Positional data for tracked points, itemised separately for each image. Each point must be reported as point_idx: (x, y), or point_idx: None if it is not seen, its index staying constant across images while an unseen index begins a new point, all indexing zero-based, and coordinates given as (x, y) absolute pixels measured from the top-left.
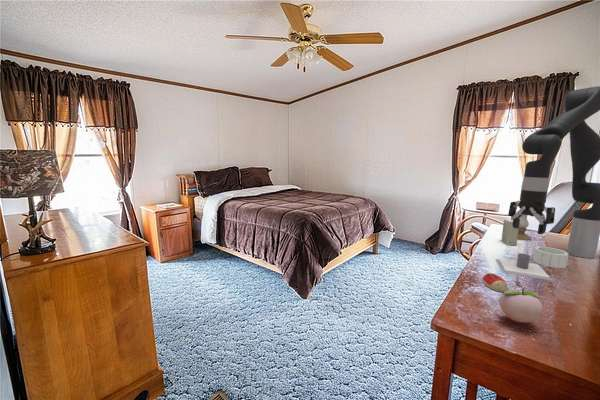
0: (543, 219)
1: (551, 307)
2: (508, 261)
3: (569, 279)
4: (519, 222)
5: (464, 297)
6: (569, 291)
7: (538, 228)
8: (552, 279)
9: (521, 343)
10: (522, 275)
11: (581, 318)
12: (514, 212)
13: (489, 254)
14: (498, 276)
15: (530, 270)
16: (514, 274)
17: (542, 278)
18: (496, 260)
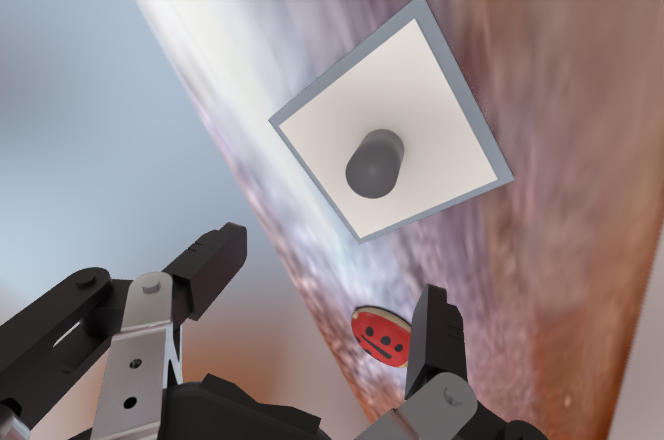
0: (423, 433)
1: (525, 358)
2: (317, 126)
3: (579, 58)
4: (214, 255)
5: (377, 402)
6: (573, 221)
7: (409, 356)
8: (508, 168)
9: None
10: (410, 219)
11: (595, 370)
12: (73, 315)
13: (208, 48)
14: (385, 346)
15: (419, 163)
16: (389, 231)
17: (473, 190)
18: (280, 134)
